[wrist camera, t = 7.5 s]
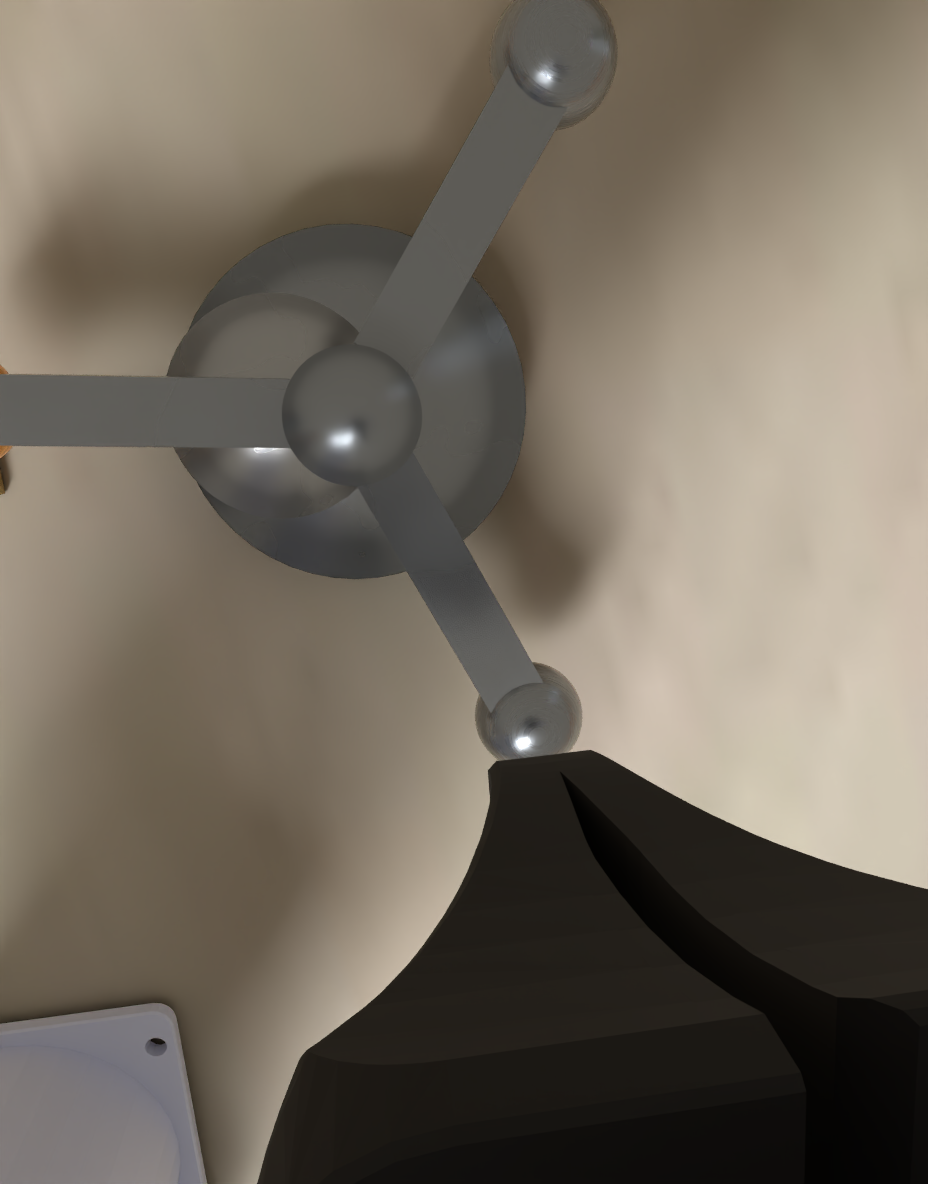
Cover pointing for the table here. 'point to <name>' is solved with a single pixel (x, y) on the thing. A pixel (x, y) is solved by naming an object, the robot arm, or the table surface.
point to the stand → (1, 485)
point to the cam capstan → (372, 384)
